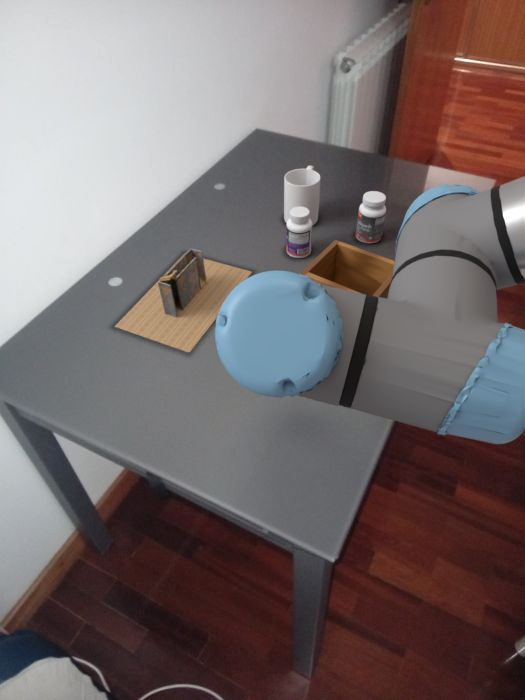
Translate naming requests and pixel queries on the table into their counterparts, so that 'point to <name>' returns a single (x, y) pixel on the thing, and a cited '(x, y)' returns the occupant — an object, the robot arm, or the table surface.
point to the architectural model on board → (183, 301)
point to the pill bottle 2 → (371, 217)
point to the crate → (352, 270)
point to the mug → (302, 192)
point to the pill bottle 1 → (299, 233)
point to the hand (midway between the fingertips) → (315, 336)
